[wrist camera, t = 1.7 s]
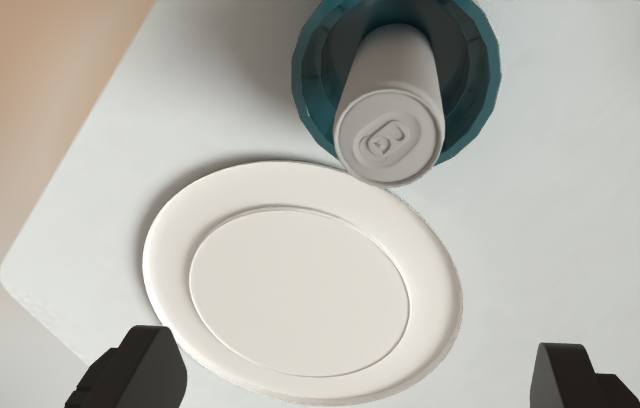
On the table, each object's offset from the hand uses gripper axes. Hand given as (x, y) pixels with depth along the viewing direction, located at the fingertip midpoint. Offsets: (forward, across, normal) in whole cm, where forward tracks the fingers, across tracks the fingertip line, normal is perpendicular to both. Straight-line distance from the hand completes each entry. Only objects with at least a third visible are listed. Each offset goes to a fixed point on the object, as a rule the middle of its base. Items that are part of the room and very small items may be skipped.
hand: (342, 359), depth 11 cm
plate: (+24, +8, +21) cm, 33 cm away
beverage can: (+24, 0, 0) cm, 24 cm away
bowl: (+24, 0, 0) cm, 24 cm away
